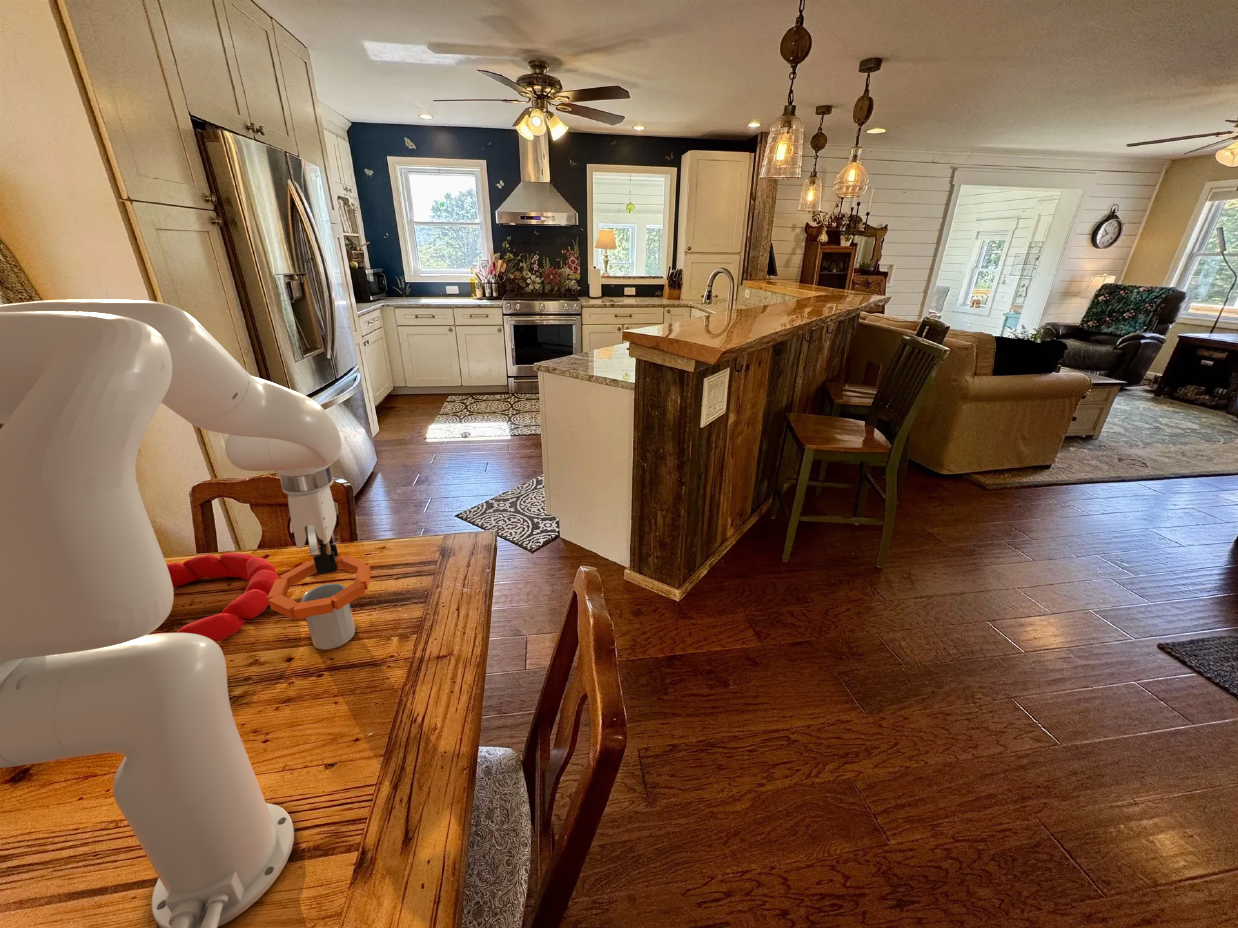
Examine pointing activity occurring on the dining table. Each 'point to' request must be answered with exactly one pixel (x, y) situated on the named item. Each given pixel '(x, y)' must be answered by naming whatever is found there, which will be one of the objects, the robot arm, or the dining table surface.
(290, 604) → the ring
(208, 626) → the decorative ring
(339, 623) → the cup
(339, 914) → the dining table surface
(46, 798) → the dining table surface
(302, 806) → the dining table surface
